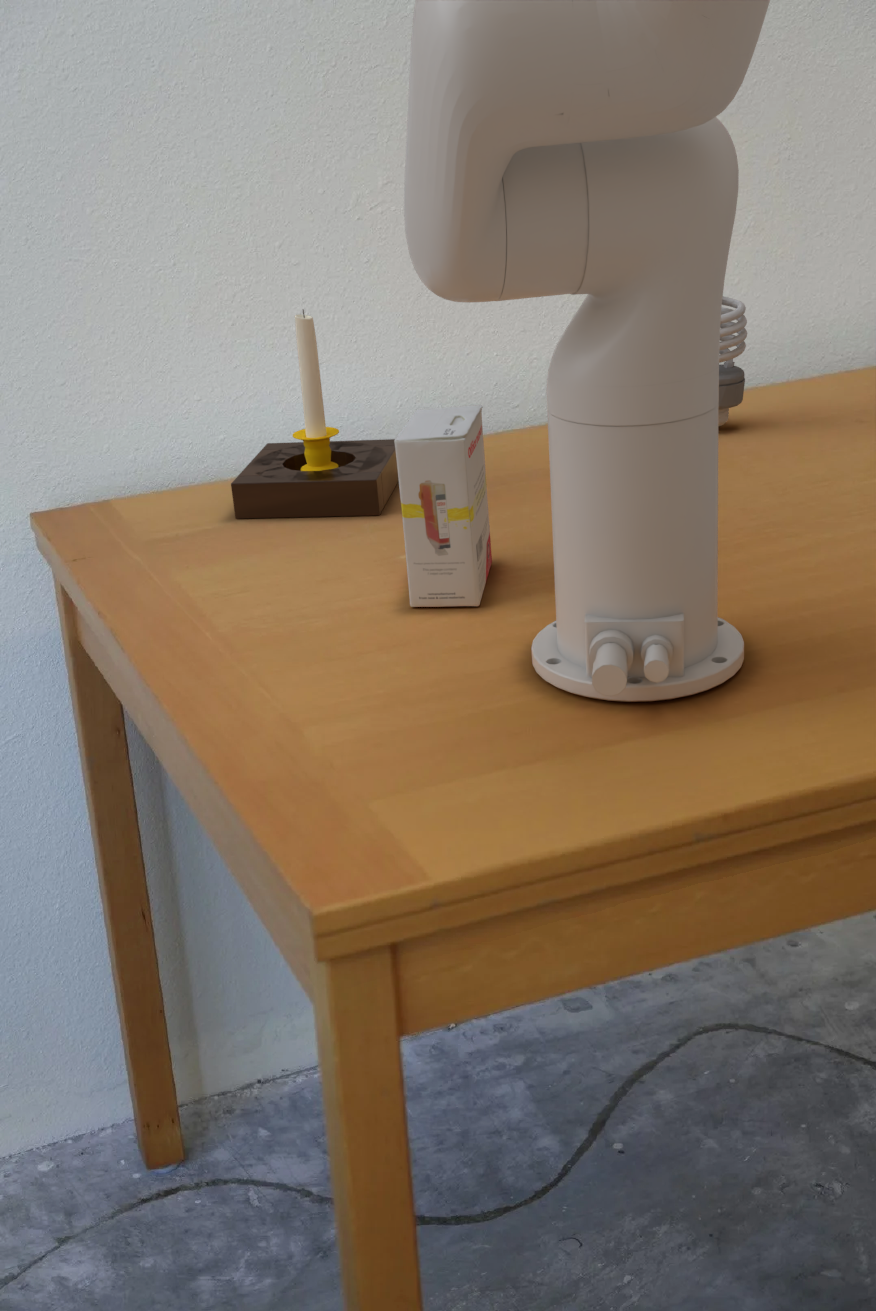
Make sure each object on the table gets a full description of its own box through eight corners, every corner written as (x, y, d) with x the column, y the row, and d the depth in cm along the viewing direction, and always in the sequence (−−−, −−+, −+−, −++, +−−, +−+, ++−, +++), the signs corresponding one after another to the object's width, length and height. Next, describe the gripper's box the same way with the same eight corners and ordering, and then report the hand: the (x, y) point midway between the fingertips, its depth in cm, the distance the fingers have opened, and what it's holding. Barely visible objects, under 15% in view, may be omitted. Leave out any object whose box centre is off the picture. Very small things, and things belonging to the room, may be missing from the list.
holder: (379, 515, 118) (376, 479, 117) (235, 518, 120) (230, 483, 119) (404, 472, 129) (401, 438, 128) (271, 475, 131) (267, 443, 130)
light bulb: (711, 417, 138) (711, 287, 134) (758, 426, 134) (761, 293, 130) (670, 430, 135) (669, 297, 131) (717, 440, 131) (718, 303, 126)
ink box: (426, 564, 107) (414, 404, 102) (494, 563, 106) (484, 401, 101) (406, 609, 99) (391, 437, 94) (479, 608, 98) (467, 435, 94)
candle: (356, 484, 127) (339, 300, 121) (348, 502, 122) (330, 313, 116) (296, 487, 127) (276, 304, 121) (286, 505, 122) (264, 316, 116)
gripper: (358, -227, 92) (382, 69, 98) (640, -257, 89) (644, 50, 96) (380, -211, 98) (400, 65, 105) (642, -238, 96) (646, 47, 102)
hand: (517, 58), depth 100 cm, fingers open, 9 cm apart
